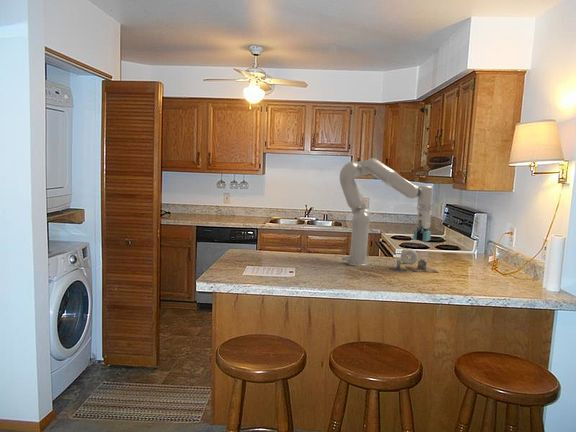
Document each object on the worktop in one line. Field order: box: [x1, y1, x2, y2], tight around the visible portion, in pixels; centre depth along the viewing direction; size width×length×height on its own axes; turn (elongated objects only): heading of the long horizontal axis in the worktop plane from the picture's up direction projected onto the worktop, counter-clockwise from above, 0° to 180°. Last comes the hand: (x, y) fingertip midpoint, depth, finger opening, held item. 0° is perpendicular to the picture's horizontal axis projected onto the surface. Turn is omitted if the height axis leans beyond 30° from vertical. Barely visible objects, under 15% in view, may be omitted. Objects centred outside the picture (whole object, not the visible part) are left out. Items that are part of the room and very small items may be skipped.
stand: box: [388, 259, 408, 272], centre depth 244 cm, size 10×10×6 cm
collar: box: [412, 229, 432, 242], centre depth 244 cm, size 7×7×5 cm
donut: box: [400, 248, 419, 265], centre depth 263 cm, size 10×3×10 cm, turn 89°
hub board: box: [405, 258, 439, 274], centre depth 247 cm, size 14×12×7 cm
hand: (421, 239), depth 245 cm, fingers closed on collar, 7 cm apart
